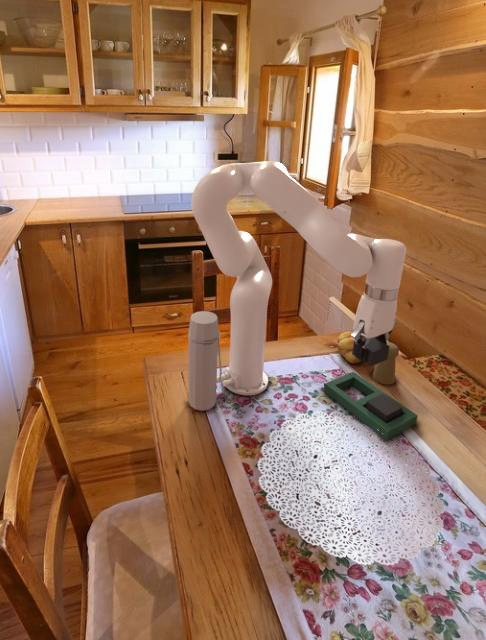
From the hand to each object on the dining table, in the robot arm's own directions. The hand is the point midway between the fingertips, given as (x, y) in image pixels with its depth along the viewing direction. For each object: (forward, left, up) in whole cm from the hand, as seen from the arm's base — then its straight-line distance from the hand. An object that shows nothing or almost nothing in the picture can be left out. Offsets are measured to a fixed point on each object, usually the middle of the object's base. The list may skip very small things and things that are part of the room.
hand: (369, 355), depth 103 cm
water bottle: (-36, +20, -14) cm, 44 cm away
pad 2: (0, -7, -14) cm, 16 cm away
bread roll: (+15, +17, -14) cm, 26 cm away
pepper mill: (+14, +4, -14) cm, 20 cm away
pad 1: (0, 0, -1) cm, 1 cm away
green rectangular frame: (0, -2, -14) cm, 14 cm away
